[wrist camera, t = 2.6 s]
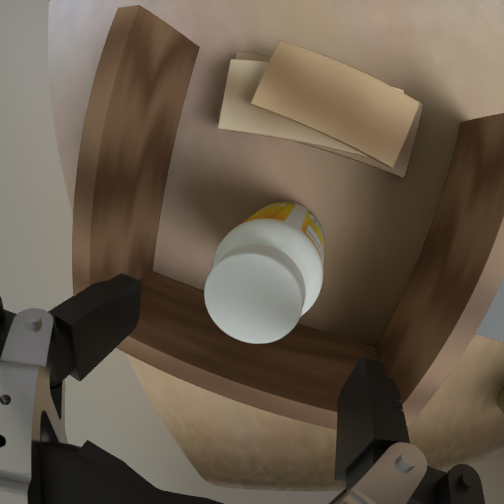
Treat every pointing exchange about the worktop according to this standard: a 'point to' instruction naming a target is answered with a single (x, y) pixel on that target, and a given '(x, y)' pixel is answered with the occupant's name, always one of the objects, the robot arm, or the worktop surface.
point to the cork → (501, 400)
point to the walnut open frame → (193, 301)
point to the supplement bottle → (266, 273)
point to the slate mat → (494, 318)
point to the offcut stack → (320, 106)
